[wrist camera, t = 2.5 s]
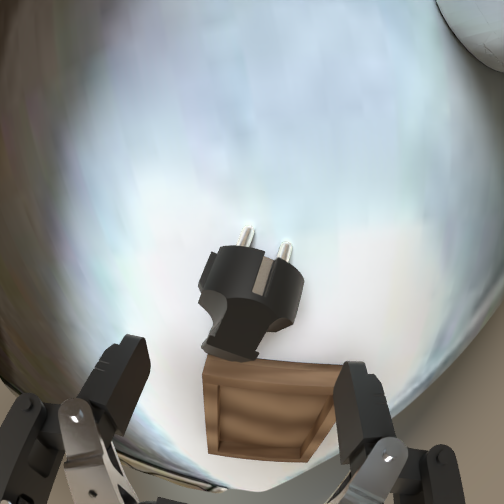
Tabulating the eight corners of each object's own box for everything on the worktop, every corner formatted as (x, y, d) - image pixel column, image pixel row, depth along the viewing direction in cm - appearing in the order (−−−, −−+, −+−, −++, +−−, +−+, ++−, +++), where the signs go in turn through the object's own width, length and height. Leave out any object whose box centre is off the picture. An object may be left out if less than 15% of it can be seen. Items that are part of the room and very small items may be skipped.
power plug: (176, 348, 22) (179, 325, 12) (208, 269, 26) (236, 190, 15) (240, 371, 23) (299, 367, 12) (265, 292, 26) (330, 232, 16)
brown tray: (208, 351, 23) (202, 373, 21) (351, 365, 23) (356, 387, 20) (211, 437, 31) (208, 453, 29) (306, 446, 30) (307, 462, 28)
